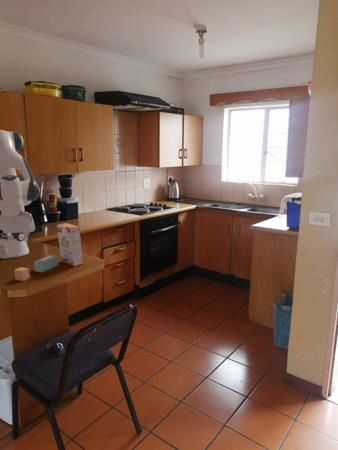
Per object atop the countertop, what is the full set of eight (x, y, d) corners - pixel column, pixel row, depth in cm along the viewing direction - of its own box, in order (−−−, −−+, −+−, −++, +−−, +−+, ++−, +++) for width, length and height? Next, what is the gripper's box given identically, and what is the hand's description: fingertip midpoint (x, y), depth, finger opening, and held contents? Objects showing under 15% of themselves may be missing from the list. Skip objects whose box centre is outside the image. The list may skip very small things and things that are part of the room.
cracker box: (60, 261, 191) (56, 224, 187) (70, 259, 196) (66, 222, 191) (73, 267, 182) (69, 228, 177) (83, 264, 186) (79, 225, 181)
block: (15, 279, 166) (14, 269, 165) (22, 276, 170) (20, 266, 169) (23, 280, 164) (22, 270, 163) (29, 278, 168) (28, 267, 167)
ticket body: (34, 271, 177) (33, 261, 176) (51, 264, 188) (50, 254, 187) (42, 272, 175) (41, 262, 174) (58, 264, 186) (57, 255, 185)
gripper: (36, 211, 159) (39, 240, 162) (4, 208, 168) (8, 236, 171) (25, 213, 154) (29, 243, 157) (-7, 211, 162) (-3, 240, 165)
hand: (18, 240), depth 164 cm, fingers open, 8 cm apart
